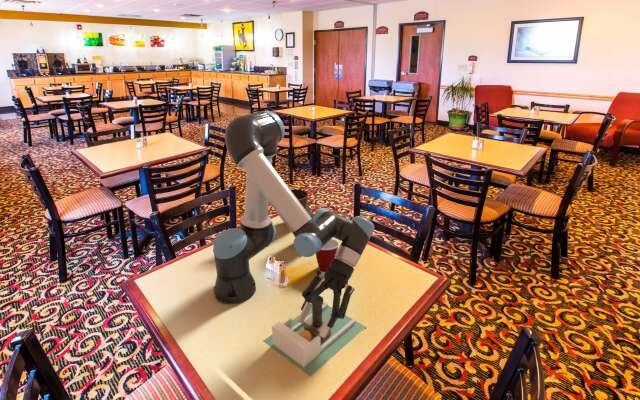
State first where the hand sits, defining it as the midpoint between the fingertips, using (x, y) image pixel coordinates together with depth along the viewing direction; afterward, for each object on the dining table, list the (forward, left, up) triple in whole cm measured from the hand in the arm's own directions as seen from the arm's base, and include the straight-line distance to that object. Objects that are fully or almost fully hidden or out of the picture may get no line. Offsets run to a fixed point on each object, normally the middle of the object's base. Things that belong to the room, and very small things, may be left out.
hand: (310, 329), depth 113 cm
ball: (0, -2, -2) cm, 3 cm away
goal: (0, -5, -4) cm, 7 cm away
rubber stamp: (0, +3, -4) cm, 6 cm away
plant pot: (-63, +55, -5) cm, 84 cm away
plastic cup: (-23, +34, -5) cm, 41 cm away
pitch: (0, +3, -4) cm, 5 cm away
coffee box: (-43, +43, -5) cm, 61 cm away
